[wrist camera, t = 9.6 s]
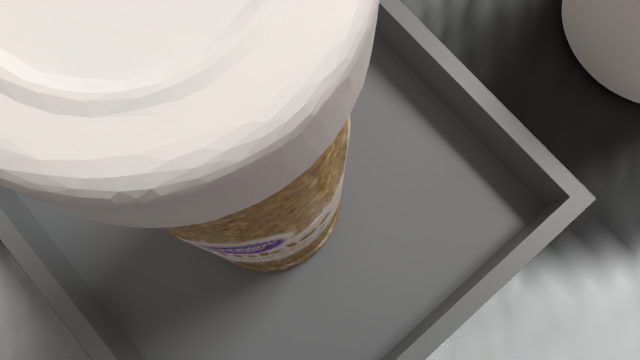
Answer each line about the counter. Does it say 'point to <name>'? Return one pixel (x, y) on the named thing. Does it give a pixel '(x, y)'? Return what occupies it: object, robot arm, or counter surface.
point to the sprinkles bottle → (187, 116)
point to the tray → (342, 246)
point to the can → (606, 41)
